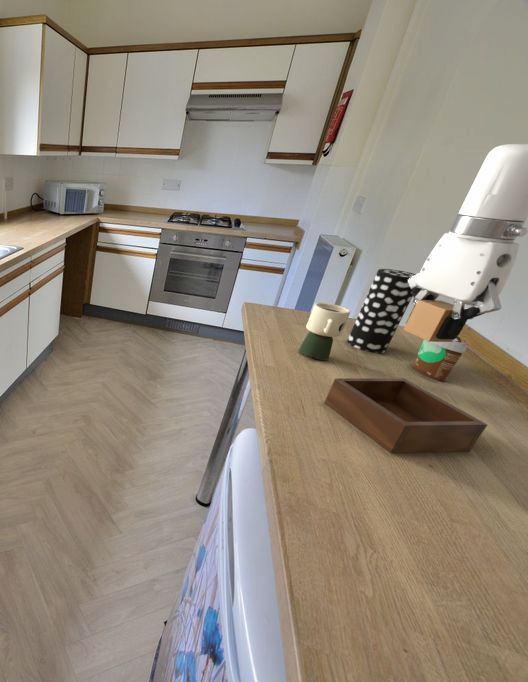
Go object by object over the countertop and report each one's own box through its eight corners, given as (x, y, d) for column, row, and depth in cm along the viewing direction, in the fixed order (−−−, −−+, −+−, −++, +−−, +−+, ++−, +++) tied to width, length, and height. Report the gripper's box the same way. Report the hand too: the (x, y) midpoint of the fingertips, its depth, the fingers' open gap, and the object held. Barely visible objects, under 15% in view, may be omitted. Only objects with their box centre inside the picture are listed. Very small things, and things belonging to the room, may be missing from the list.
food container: (403, 357, 104) (421, 321, 100) (435, 364, 101) (456, 327, 97) (409, 375, 95) (430, 337, 91) (445, 384, 92) (468, 345, 88)
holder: (391, 402, 84) (404, 378, 82) (469, 451, 71) (487, 424, 68) (323, 402, 83) (334, 378, 80) (390, 453, 69) (405, 425, 67)
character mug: (331, 368, 96) (354, 318, 91) (296, 360, 100) (316, 311, 94) (327, 351, 105) (347, 304, 99) (295, 344, 108) (313, 298, 103)
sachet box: (425, 330, 76) (441, 300, 74) (452, 342, 72) (470, 310, 69) (402, 330, 76) (418, 299, 74) (428, 341, 72) (445, 309, 69)
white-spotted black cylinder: (340, 341, 111) (370, 270, 103) (358, 337, 114) (389, 268, 106) (374, 355, 104) (410, 279, 96) (392, 350, 108) (429, 277, 99)
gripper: (572, 241, 58) (501, 354, 66) (451, 221, 74) (405, 314, 82) (525, 239, 58) (458, 353, 66) (413, 219, 73) (370, 313, 81)
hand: (429, 330), depth 74 cm, fingers closed on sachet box, 5 cm apart
